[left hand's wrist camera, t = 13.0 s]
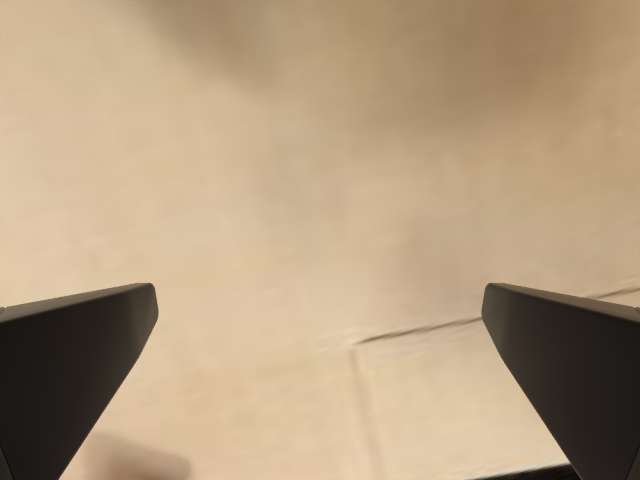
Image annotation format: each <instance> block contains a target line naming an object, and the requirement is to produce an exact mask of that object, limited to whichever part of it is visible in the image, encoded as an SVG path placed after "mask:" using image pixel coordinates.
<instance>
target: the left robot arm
mask: <svg viewBox="0 0 640 480" xmlns="http://www.w3.org/2000/svg"><path fill="white" fill-rule="evenodd" d="M157 319H158V305H157V299H156V293H155V288H154V286H153V284H151V283H135V284H130V285H124V286H119V287H113V288H108V289H103V290H97V291H92V292H86V293H81V294H75V295H70V296H64V297H59V298H53V299H48V300H42V301H37V302H32V303H26V304H21V305H15V306H10V307H6V309H5V308H4V307H1V308H0V480H59V478H60V477H61V475H62V474H63V472H64V471H65V469H66V468H67V466H68V464H69V463H70V461H71V460H72V458H73V457H74V455H75V454H76V452H77V451H78V449H79V448H80V446H81V445H82V443H83V442H84V440H85V439H86V437H87V436H88V434H89V433H90V431H91V430H92V428H93V427H94V425H95V424H96V422H97V421H98V419H99V417H100V416H101V414H102V413H103V411H104V410H105V408H106V407H107V405H108V404H109V402H110V401H111V399H112V398H113V396H114V395H115V393H116V392H117V390H118V389H119V387H120V386H121V384H122V383H123V381H124V380H125V378H126V377H127V375H128V373H129V372H130V370H131V369H132V367H133V366H134V364H135V363H136V361H137V359H138V358H139V356H140V354H141V352H142V350H143V348H144V346H145V344H146V342H147V340H148V338H149V336H150V334H151V332H152V330H153V328H154V326H155V324H156V322H157ZM482 319H483V322H484V324H485V326H486V328H487V330H488V332H489V334H490V336H491V338H492V340H493V342H494V344H495V346H496V348H497V350H498V352H499V354H500V356H501V358H502V359H503V361H504V363H505V364H506V366H507V367H508V369H509V370H510V372H511V373H512V375H513V376H514V378H515V380H516V381H517V383H518V384H519V386H520V387H521V389H522V390H523V392H524V393H525V395H526V396H527V398H528V399H529V401H530V402H531V404H532V405H533V407H534V408H535V410H536V411H537V413H538V414H539V416H540V417H541V419H542V420H543V422H544V423H545V425H546V426H547V428H548V430H549V431H550V433H551V434H552V436H553V437H554V439H555V440H556V442H557V443H558V445H559V446H560V448H561V449H562V451H563V452H564V454H565V455H566V457H567V458H568V460H569V461H570V463H571V464H572V466H573V467H574V469H575V471H576V472H577V474H578V475H579V477H580V478H581V480H640V308H639V307H636V308H635V309H634V308H633V307H631V306H625V305H620V304H614V303H609V302H603V301H598V300H592V299H587V298H581V297H576V296H570V295H565V294H559V293H554V292H549V291H543V290H538V289H532V288H527V287H521V286H516V285H510V284H505V283H489V284H487V286H486V288H485V293H484V299H483V305H482Z"/></svg>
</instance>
